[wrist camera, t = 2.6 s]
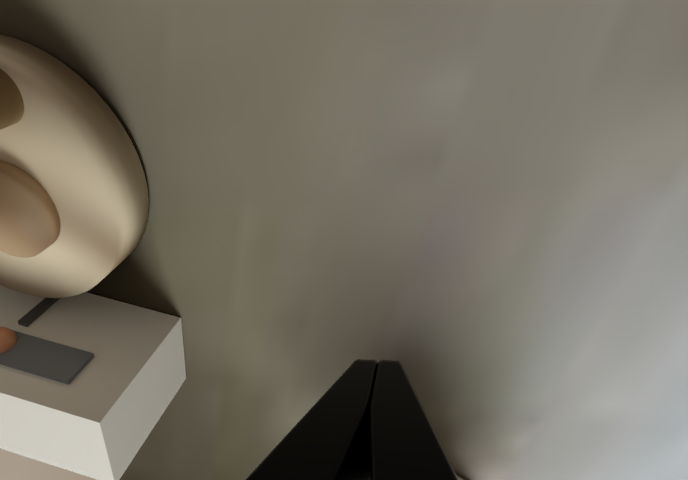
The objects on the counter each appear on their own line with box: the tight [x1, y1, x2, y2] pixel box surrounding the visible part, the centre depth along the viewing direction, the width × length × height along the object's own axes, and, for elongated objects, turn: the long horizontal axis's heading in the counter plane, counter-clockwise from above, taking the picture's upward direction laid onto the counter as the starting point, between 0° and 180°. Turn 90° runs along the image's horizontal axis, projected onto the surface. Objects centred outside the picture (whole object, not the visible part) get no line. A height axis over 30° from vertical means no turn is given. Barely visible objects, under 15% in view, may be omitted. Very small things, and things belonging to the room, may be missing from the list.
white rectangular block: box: [0, 285, 186, 480], centre depth 26 cm, size 14×6×7 cm, turn 83°
